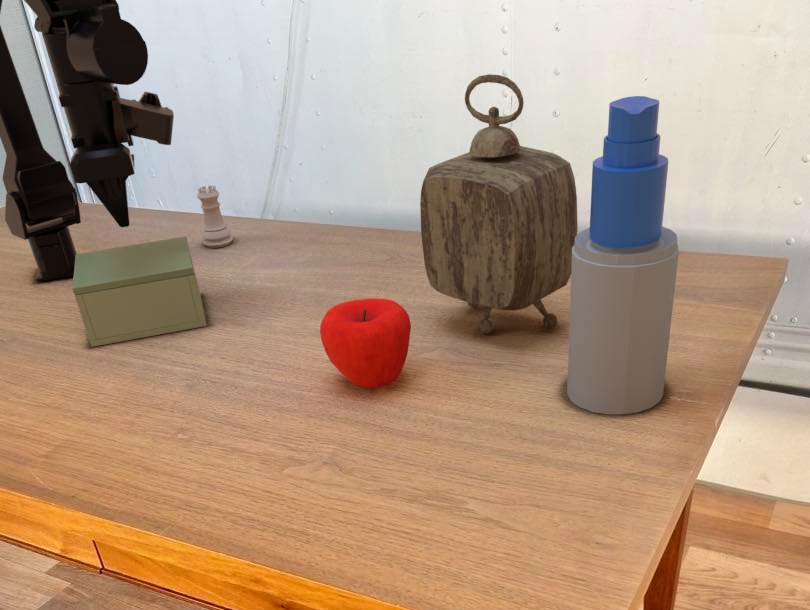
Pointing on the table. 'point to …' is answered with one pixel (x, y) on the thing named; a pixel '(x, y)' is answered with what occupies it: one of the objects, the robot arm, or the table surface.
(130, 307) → the chest
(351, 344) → the apple
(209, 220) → the rook chess piece
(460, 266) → the tabletop clock
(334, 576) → the table surface
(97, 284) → the chest lid
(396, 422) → the table surface
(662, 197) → the spray bottle
